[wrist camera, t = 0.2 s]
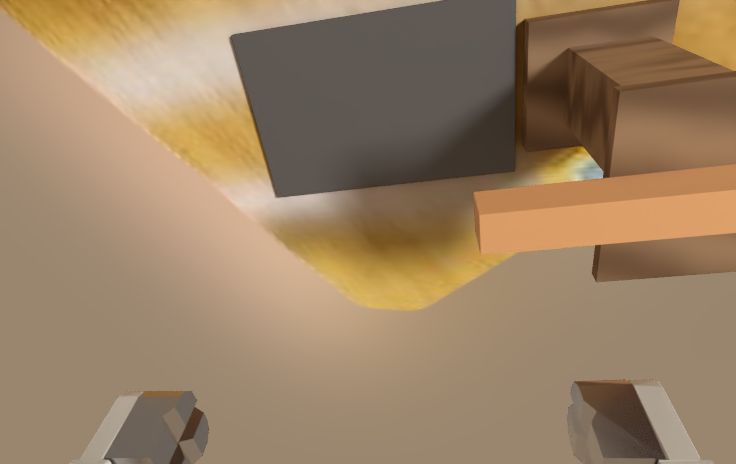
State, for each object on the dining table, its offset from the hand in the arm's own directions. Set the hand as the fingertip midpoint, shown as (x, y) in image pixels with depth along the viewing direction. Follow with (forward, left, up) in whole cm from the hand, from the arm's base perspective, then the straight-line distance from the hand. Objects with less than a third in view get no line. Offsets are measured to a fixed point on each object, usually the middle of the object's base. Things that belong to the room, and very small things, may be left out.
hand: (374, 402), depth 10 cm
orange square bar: (+8, +14, -22) cm, 27 cm away
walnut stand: (+8, +20, -48) cm, 52 cm away
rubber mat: (+8, -3, -48) cm, 48 cm away
